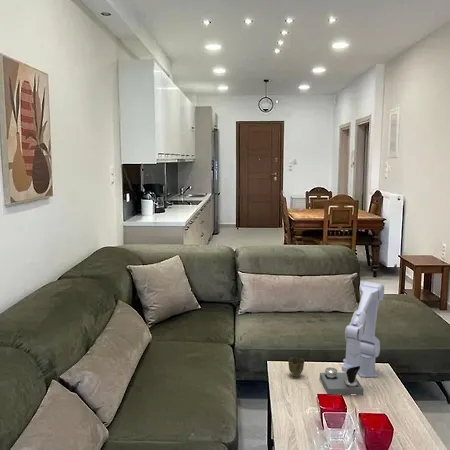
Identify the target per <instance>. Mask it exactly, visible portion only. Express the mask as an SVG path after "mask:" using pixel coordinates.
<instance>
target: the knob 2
mask: <svg viewBox="0 0 450 450" xmlns="http://www.w3.org/2000/svg"><path fill="white" fill-rule="evenodd" d="M345 385H346V386H347V387H356V386H357V381H356V380H355V381H354V382H353V383H351V382H349V381H348V379H346V380H345Z"/></svg>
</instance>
